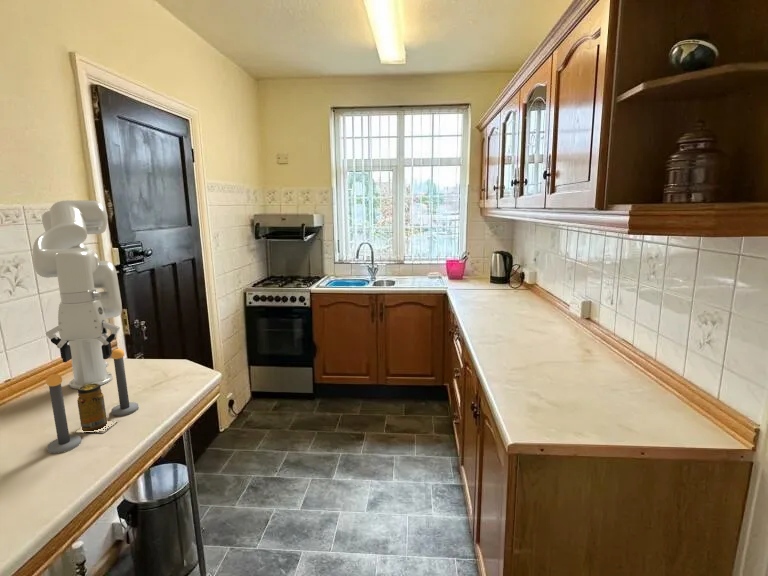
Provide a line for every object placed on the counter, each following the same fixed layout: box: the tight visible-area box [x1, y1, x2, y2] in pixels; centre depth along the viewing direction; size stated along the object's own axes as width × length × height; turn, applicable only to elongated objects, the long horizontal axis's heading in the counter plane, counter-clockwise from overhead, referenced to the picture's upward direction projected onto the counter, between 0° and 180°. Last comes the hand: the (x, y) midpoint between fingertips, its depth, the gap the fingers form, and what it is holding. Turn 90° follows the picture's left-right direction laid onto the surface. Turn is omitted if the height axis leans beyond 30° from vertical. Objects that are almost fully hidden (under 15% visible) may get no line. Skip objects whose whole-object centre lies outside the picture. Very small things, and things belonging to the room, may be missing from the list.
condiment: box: [73, 384, 121, 434], centre depth 119 cm, size 7×8×12 cm
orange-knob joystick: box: [45, 373, 82, 454], centre depth 109 cm, size 7×7×20 cm
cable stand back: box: [111, 348, 139, 417], centre depth 128 cm, size 7×7×20 cm
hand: (87, 359), depth 116 cm, fingers open, 9 cm apart
